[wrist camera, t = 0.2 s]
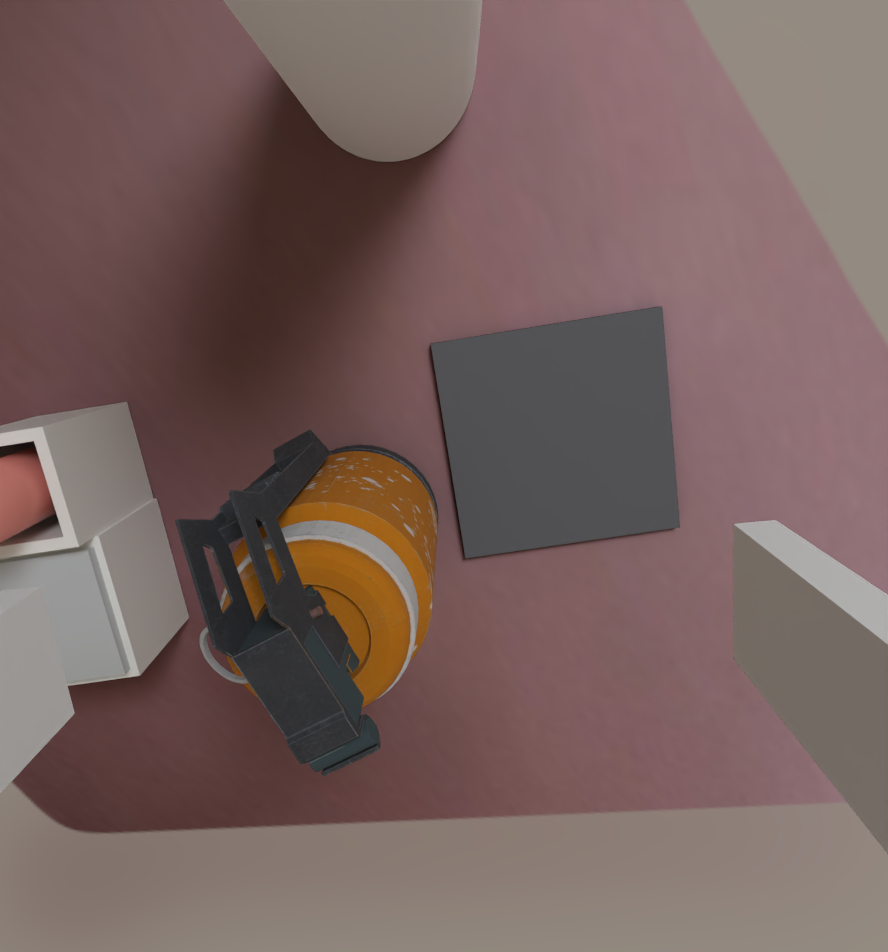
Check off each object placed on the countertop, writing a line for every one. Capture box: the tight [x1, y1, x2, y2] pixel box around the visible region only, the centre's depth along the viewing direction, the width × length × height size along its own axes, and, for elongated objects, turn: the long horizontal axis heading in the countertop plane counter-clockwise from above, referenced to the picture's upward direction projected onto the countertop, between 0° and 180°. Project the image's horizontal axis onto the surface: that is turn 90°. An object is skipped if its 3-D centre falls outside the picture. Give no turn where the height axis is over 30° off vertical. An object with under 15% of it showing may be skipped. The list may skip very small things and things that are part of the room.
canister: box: [175, 430, 438, 776], centre depth 32 cm, size 9×11×20 cm
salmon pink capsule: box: [0, 446, 56, 542], centre depth 33 cm, size 4×4×8 cm
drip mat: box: [431, 307, 680, 558], centre depth 40 cm, size 13×13×1 cm
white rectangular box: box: [0, 402, 189, 686], centre depth 38 cm, size 14×6×8 cm, turn 9°
